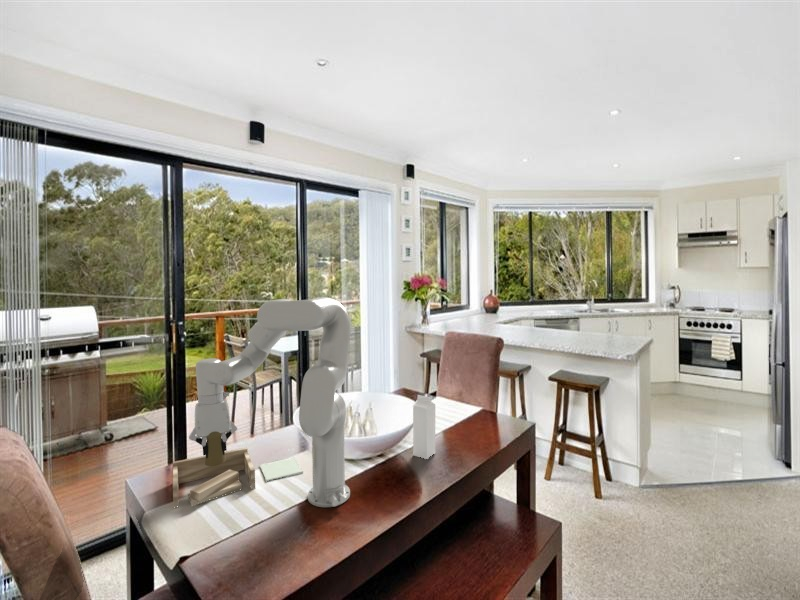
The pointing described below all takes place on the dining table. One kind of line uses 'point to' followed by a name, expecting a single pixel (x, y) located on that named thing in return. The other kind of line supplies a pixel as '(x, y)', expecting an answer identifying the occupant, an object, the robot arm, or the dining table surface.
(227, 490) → the offcut low
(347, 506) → the dining table surface
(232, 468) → the rack
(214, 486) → the offcut top
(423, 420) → the milk
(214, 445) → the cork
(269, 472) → the tile
